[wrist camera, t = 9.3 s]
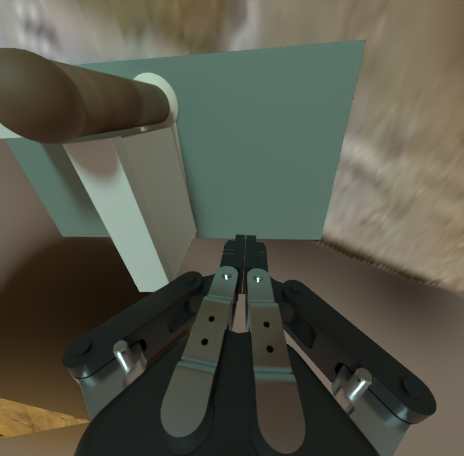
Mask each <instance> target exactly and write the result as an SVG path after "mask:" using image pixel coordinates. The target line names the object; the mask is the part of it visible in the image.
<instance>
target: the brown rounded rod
mask: <svg viewBox="0 0 464 456" xmlns="http://www.w3.org/2000/svg"><path fill="white" fill-rule="evenodd" d="M169 111H170V106H169V101H168V98H167V96H166V94H165V93H164V91H163V90H162V89H161V88H159V87H158V86H156V85H153V84H149V83H145V82H141V81H137V80H133V79H128V78H124V77H120V76H116V75H111V74H107V73H103V72H99V71H94V70H90V69H86V68H82V67H77V66H73V65H69V64H65V63H61V62H56V61H52V60H48V59H46V58H44V57H42V56H40V55H38V54H35V53H32V52H29V51H26V50H22V49H16V48H0V124H2V125H3V126H4V127H6V128H7V129H9V130H10V131H12V132H14V133H16V134H17V135H19V136H21V137H24V138H26V139H29V140H32V141H35V142H40V143H45V144H59V143H65V142H68V141H71V140H72V139H74V138H76V137H82V136H88V135H94V134H100V133H106V132H112V131H118V130H124V129H130V128H136V127H142V126H148V125H154V124H160V123H162V122H164V121H165V120H166V119H167V117H168V115H169Z"/></svg>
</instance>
